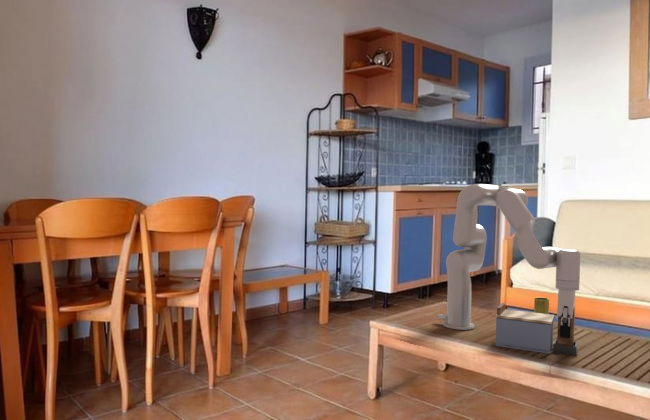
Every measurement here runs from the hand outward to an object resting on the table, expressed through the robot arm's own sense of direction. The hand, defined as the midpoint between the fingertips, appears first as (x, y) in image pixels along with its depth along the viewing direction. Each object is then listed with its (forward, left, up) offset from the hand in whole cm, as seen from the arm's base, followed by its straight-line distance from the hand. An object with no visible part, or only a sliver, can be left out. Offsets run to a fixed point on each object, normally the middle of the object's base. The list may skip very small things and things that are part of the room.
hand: (565, 334), depth 181 cm
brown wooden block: (0, 0, -6) cm, 6 cm away
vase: (-10, +20, -6) cm, 23 cm away
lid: (-14, 0, +4) cm, 14 cm away
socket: (0, 0, -6) cm, 6 cm away
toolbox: (-14, 0, -6) cm, 15 cm away
